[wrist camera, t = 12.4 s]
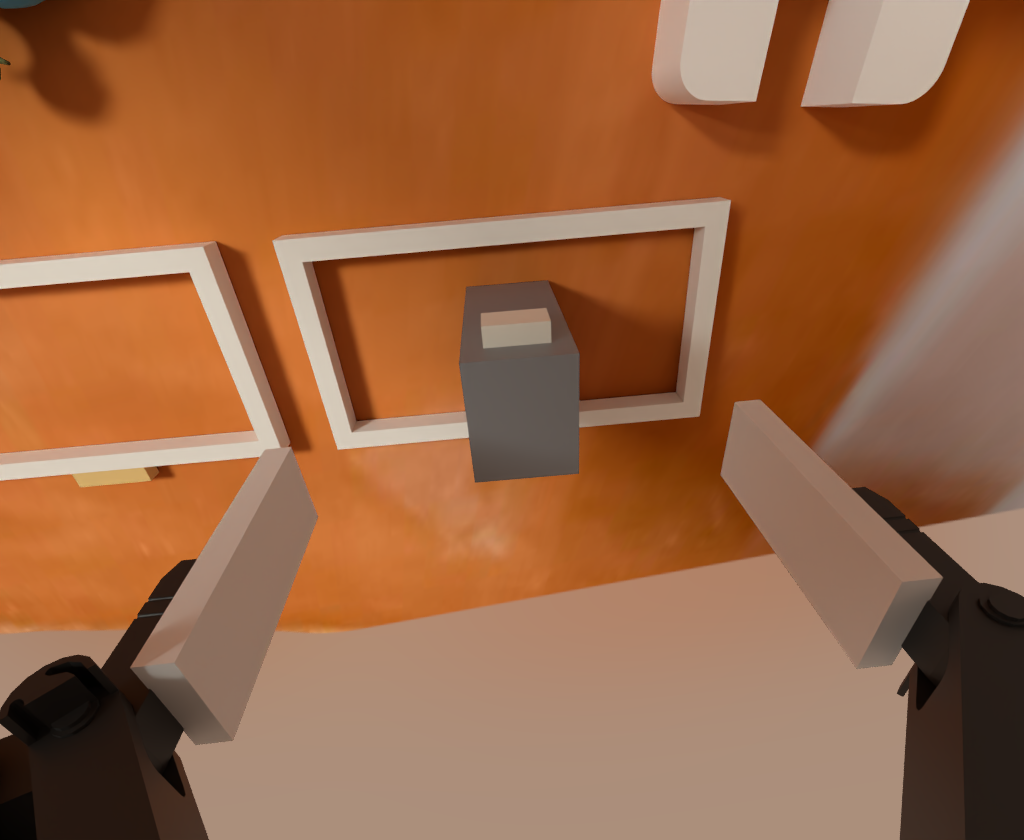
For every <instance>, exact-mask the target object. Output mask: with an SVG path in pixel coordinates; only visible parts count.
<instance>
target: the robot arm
mask: <svg viewBox="0 0 1024 840" xmlns="http://www.w3.org/2000/svg"><path fill="white" fill-rule="evenodd" d="M721 476H722V478H723V479H724V480H725V482H726V483H727V485H728V486H729V488H730V489H731V490H732V492H733V493H734V495H735V496H736V498H737V499H738V500H739V502H740V503H741V505H742V506H743V508H744V509H745V510H746V512H747V513H748V515H749V516H750V518H751V519H752V520H753V522H754V523H755V525H756V526H757V528H758V529H759V530H760V532H761V533H762V535H763V536H764V538H765V539H766V540H767V542H768V543H769V545H770V546H771V547H772V549H773V550H774V552H775V553H776V555H777V556H778V557H779V559H780V560H781V562H782V563H783V565H784V566H785V567H786V569H787V570H788V572H789V573H790V575H791V576H792V577H793V579H794V580H795V582H796V583H797V585H798V586H799V587H800V589H801V590H802V592H803V593H804V594H805V596H806V597H807V599H808V600H809V602H810V603H811V604H812V606H813V607H814V609H815V610H816V612H817V613H818V614H819V616H820V617H821V619H822V620H823V622H824V623H825V624H826V626H827V627H828V629H829V630H830V632H831V633H832V634H833V636H834V637H835V639H836V640H837V641H838V643H839V644H840V646H841V647H842V648H843V650H844V651H845V653H846V654H847V656H848V657H849V659H850V660H851V662H852V663H853V664H854V666H855V667H856V669H860V668H869V667H878V666H886V665H892V664H893V662H894V660H895V659H896V657H897V655H898V654H899V652H900V650H901V648H903V649H904V650H905V651H906V652H907V654H908V655H909V656H910V657H911V659H912V660H913V661H914V662H915V663H914V665H913V666H912V668H911V669H910V671H909V673H908V674H907V676H906V678H905V679H904V681H903V682H902V684H901V685H900V687H899V690H898V692H897V694H899V695H901V696H904V695H905V693H906V692H907V690H908V689H909V694H908V710H907V727H906V745H905V762H904V778H903V779H904V780H903V795H902V813H901V829H900V830H901V831H900V840H1024V597H1023V596H1021V595H1019V594H1017V593H1015V592H1012V591H1010V590H1008V589H1005V588H1003V587H999V586H995V585H991V584H987V583H979V582H977V581H976V580H975V579H974V578H973V577H972V576H971V575H969V574H968V573H967V572H966V571H965V570H964V569H963V568H962V567H961V566H959V564H957V563H956V562H955V561H954V560H953V559H952V558H951V557H950V556H949V555H948V554H946V553H945V552H944V551H943V550H942V549H941V548H940V547H939V546H938V545H937V544H936V543H934V542H933V541H932V540H931V539H930V538H929V537H928V536H927V535H926V534H925V533H924V532H920V530H919V528H918V527H917V526H916V525H915V524H914V523H913V522H912V521H910V520H909V519H906V518H905V515H904V514H903V513H902V512H901V511H900V510H898V509H897V508H896V507H895V506H894V505H893V504H892V503H891V502H890V501H889V500H887V499H885V498H884V497H882V496H880V495H878V494H876V493H875V492H873V491H871V490H869V489H867V488H866V487H860V488H851V487H850V486H849V485H848V484H847V483H845V482H844V481H843V480H842V479H841V478H840V477H839V476H838V475H837V474H836V473H835V472H834V471H833V470H832V469H831V468H830V467H829V466H828V465H827V464H826V463H825V462H824V461H823V460H822V459H821V458H820V457H819V456H818V455H817V454H816V453H815V452H814V451H813V450H812V449H811V448H809V447H808V446H807V445H806V444H805V443H804V442H803V441H802V440H801V439H800V438H799V437H798V436H797V435H796V434H795V433H794V432H793V431H792V430H791V429H790V428H789V427H788V426H787V425H786V424H785V423H784V422H783V421H782V420H781V419H780V418H779V417H778V416H777V415H776V414H775V413H773V412H772V411H771V410H770V409H769V408H768V407H767V406H766V405H765V404H764V403H763V402H762V401H761V400H750V401H740V402H735V403H734V408H733V414H732V419H731V424H730V429H729V434H728V439H727V444H726V449H725V454H724V460H723V465H722V470H721ZM317 518H318V515H317V513H316V510H315V508H314V505H313V502H312V500H311V497H310V495H309V492H308V489H307V487H306V484H305V482H304V479H303V476H302V474H301V471H300V468H299V466H298V463H297V461H296V458H295V455H294V453H293V450H292V448H291V447H285V448H275V449H265V450H264V452H263V453H262V455H261V456H260V458H259V460H258V461H257V463H256V465H255V466H254V468H253V469H252V471H251V473H250V474H249V476H248V477H247V479H246V481H245V482H244V484H243V486H242V487H241V489H240V490H239V492H238V494H237V495H236V497H235V499H234V500H233V502H232V503H231V505H230V507H229V508H228V510H227V512H226V513H225V515H224V516H223V518H222V520H221V521H220V523H219V524H218V526H217V528H216V529H215V531H214V533H213V534H212V536H211V537H210V539H209V541H208V542H207V544H206V546H205V547H204V549H203V550H202V552H201V554H200V555H199V557H198V559H192V560H183V561H181V562H180V563H178V564H177V565H176V566H175V567H174V568H173V569H172V570H171V571H170V572H168V573H167V574H166V575H165V576H164V577H163V578H162V579H161V580H160V582H159V583H158V585H157V586H156V588H155V589H154V591H153V592H152V594H151V595H150V597H149V598H148V599H149V601H148V602H146V603H145V604H144V606H143V607H142V609H141V610H140V612H139V613H138V618H137V619H134V621H133V622H132V624H131V625H130V627H129V628H128V630H127V631H126V633H125V634H124V636H123V637H122V639H121V640H120V642H119V643H118V645H117V646H116V648H115V649H114V651H113V652H112V654H111V655H110V657H109V658H108V660H107V661H106V663H105V664H104V666H103V667H102V669H100V668H99V667H98V666H97V664H96V663H95V662H94V661H93V660H92V659H91V658H90V657H88V656H83V655H74V656H69V657H65V658H62V659H59V660H57V661H55V662H52V663H51V664H48V665H46V666H44V667H42V668H41V669H40V670H38V671H36V672H35V673H34V674H32V675H31V676H29V677H28V678H26V679H25V680H24V681H23V682H22V683H21V684H20V685H19V686H18V687H17V688H16V689H15V690H14V691H13V692H12V693H11V694H10V695H9V697H8V698H7V700H6V701H5V703H4V704H3V706H2V707H1V710H0V724H1V725H2V726H4V727H5V728H6V729H7V730H9V731H10V732H11V733H12V734H13V735H10V736H8V737H5V738H3V739H0V840H209V839H208V836H207V833H206V830H205V827H204V824H203V822H202V819H201V816H200V813H199V810H198V807H197V804H196V802H195V799H194V796H193V793H192V790H191V788H190V784H189V782H188V779H187V776H186V773H185V770H184V767H183V764H182V761H181V759H180V757H179V756H178V755H177V753H176V752H175V751H174V750H175V748H176V745H177V743H178V741H179V739H180V737H181V734H182V733H183V731H184V732H185V733H186V734H187V735H188V737H189V738H190V739H191V740H192V741H193V742H194V744H195V745H200V744H208V743H217V742H225V741H233V740H234V737H235V734H236V732H237V729H238V726H239V724H240V721H241V718H242V716H243V713H244V711H245V708H246V705H247V702H248V700H249V697H250V695H251V692H252V690H253V687H254V684H255V682H256V679H257V676H258V674H259V671H260V668H261V666H262V663H263V661H264V658H265V655H266V653H267V650H268V647H269V645H270V642H271V639H272V637H273V634H274V632H275V629H276V626H277V624H278V621H279V618H280V616H281V613H282V611H283V608H284V605H285V603H286V600H287V597H288V595H289V592H290V589H291V587H292V584H293V582H294V579H295V576H296V574H297V571H298V568H299V566H300V563H301V560H302V558H303V555H304V553H305V550H306V547H307V545H308V542H309V539H310V537H311V534H312V531H313V529H314V526H315V524H316V521H317Z"/></svg>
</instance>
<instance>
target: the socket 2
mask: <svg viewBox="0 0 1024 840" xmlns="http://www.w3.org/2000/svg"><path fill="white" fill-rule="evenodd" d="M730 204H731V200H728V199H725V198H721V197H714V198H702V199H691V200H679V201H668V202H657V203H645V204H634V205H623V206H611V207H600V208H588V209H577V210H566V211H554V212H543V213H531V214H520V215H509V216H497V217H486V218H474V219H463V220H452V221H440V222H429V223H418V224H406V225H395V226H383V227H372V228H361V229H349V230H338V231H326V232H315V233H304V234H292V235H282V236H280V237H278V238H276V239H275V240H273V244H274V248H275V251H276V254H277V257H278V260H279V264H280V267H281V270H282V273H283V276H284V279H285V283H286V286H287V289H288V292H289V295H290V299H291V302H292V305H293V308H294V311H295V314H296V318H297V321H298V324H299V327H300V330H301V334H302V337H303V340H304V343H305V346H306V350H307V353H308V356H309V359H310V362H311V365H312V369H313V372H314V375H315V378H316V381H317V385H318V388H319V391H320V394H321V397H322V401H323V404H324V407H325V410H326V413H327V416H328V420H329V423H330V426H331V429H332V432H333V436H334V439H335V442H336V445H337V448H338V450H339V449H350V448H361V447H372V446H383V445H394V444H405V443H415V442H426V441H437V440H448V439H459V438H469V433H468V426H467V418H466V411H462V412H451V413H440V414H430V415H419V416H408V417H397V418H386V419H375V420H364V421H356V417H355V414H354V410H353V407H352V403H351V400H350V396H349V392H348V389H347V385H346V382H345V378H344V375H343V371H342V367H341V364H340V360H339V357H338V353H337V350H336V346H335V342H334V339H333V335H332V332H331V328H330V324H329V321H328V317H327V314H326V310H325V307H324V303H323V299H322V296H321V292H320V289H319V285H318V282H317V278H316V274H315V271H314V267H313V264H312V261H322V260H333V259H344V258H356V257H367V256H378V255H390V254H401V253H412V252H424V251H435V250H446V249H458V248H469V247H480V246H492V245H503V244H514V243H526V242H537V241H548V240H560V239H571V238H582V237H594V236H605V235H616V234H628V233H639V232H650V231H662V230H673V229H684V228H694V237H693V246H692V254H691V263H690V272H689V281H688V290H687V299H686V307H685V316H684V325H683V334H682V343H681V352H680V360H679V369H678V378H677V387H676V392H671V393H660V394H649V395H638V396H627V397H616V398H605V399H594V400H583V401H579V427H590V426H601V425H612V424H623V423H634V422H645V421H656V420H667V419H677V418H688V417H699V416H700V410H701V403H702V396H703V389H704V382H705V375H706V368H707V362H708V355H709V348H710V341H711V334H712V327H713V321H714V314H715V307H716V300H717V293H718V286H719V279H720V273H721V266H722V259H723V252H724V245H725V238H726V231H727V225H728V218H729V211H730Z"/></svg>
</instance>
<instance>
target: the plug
mask: <svg viewBox="0 0 1024 840" xmlns="http://www.w3.org/2000/svg"><path fill="white" fill-rule="evenodd" d="M579 356H580V353H579V351H578V349H577V346H576V344H575V342H574V339H573V337H572V335H571V333H570V330H569V328H568V326H567V323H566V321H565V319H564V316H563V314H562V312H561V309H560V307H559V305H558V303H557V300H556V298H555V296H554V293H553V291H552V289H551V286H550V284H549V282H548V280H545V281H533V282H521V283H508V284H496V285H484V286H472V287H466V296H465V306H464V317H463V328H462V338H461V349H460V360H459V366H460V373H461V381H462V388H463V396H464V403H465V411H466V418H467V426H468V433H469V441H470V448H471V456H472V463H473V471H474V478H475V482H487V481H498V480H510V479H521V478H533V477H544V476H556V475H568V474H579Z"/></svg>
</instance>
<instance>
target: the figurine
mask: <svg viewBox="0 0 1024 840" xmlns="http://www.w3.org/2000/svg"><path fill="white" fill-rule="evenodd" d="M43 1H44V0H0V8H3V9H8V8H26V7H31V6H35V5H37V4H39V3H41V2H43ZM0 64H6V65H10V62H8V61H7V60H5V59H3V58H1V57H0ZM0 80H1V70H0Z"/></svg>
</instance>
